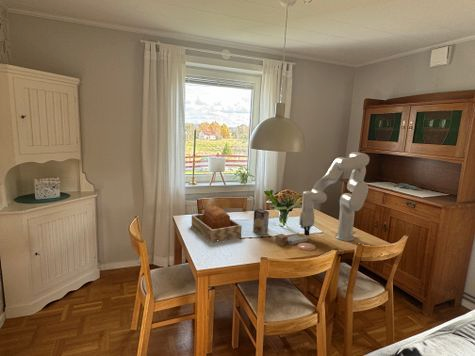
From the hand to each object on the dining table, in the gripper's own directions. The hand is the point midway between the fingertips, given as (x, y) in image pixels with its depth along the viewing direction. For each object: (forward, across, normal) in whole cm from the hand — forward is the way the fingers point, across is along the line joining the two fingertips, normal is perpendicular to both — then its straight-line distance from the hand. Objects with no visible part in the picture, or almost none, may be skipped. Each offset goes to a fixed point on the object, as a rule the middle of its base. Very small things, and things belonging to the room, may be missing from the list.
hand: (306, 234), depth 194 cm
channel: (+2, +10, -1) cm, 10 cm away
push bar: (+2, +13, 0) cm, 14 cm away
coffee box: (+1, +23, -23) cm, 32 cm away
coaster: (+2, +11, +11) cm, 16 cm away
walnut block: (+1, +22, 0) cm, 22 cm away
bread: (0, +49, -41) cm, 64 cm away
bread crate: (-1, +51, -39) cm, 64 cm away
